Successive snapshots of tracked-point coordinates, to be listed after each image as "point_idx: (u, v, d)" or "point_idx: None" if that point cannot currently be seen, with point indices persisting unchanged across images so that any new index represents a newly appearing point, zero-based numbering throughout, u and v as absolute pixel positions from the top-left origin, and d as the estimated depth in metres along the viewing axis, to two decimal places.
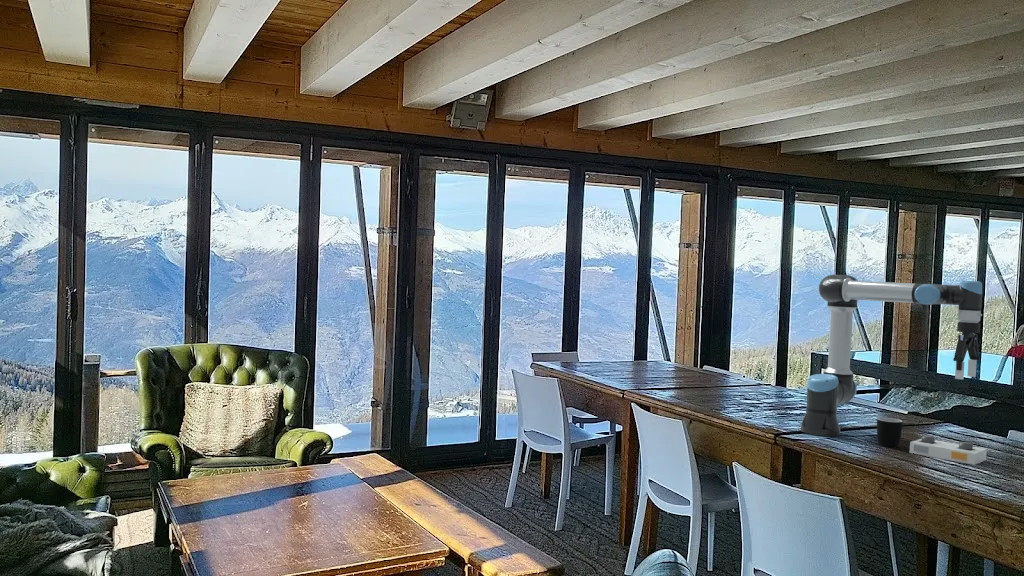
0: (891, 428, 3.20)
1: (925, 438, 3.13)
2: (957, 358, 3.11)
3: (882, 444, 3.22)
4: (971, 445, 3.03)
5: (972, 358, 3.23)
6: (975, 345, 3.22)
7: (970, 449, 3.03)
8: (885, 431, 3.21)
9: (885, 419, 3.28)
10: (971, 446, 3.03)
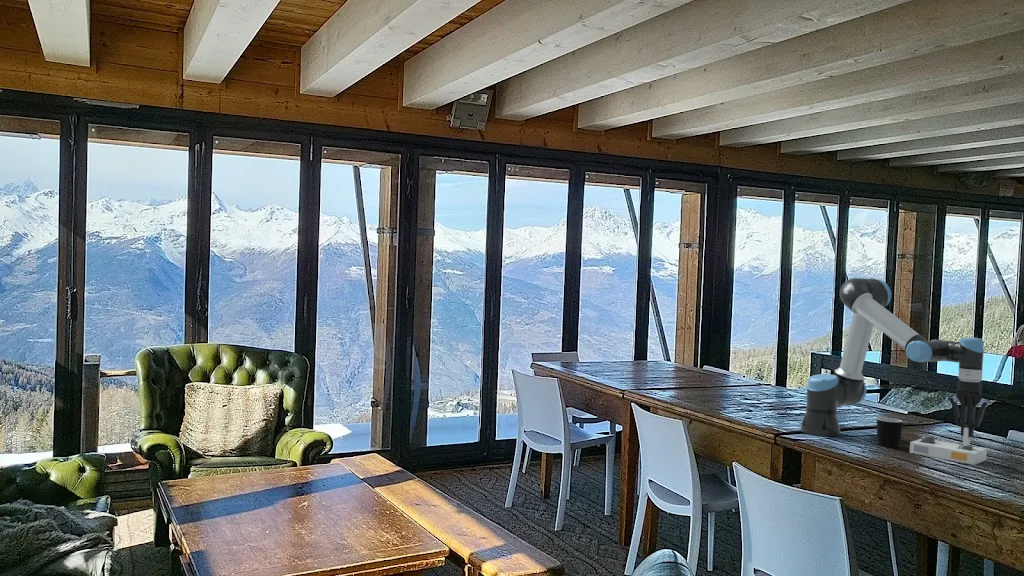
0: (891, 428, 3.20)
1: (925, 438, 3.13)
2: None
3: (882, 444, 3.22)
4: (971, 448, 3.03)
5: None
6: None
7: None
8: (885, 431, 3.21)
9: (885, 419, 3.28)
10: (971, 450, 3.04)
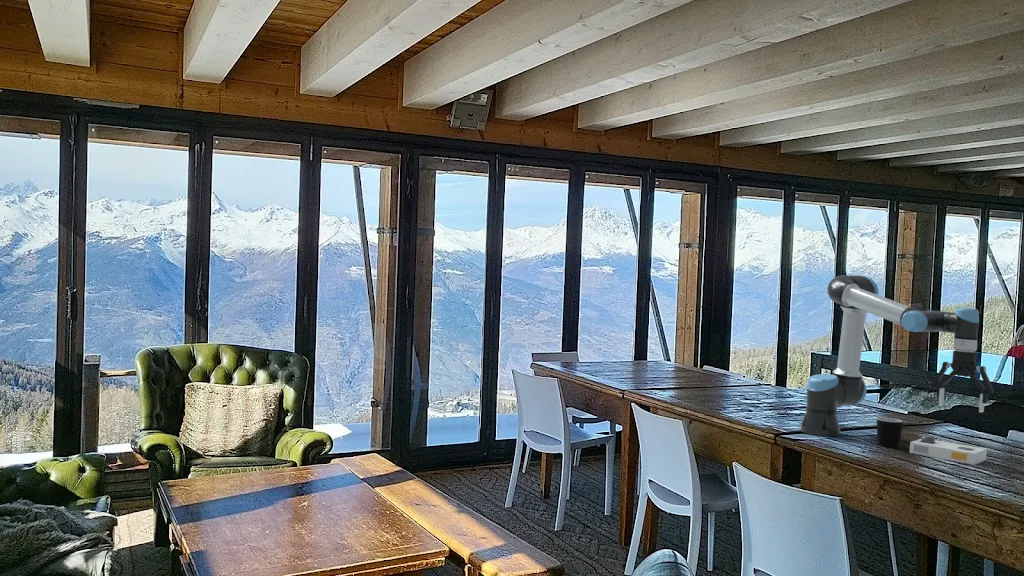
0: (891, 428, 3.20)
1: (925, 438, 3.13)
2: None
3: (882, 444, 3.22)
4: None
5: None
6: (982, 378, 3.01)
7: None
8: (885, 431, 3.21)
9: (885, 419, 3.28)
10: None
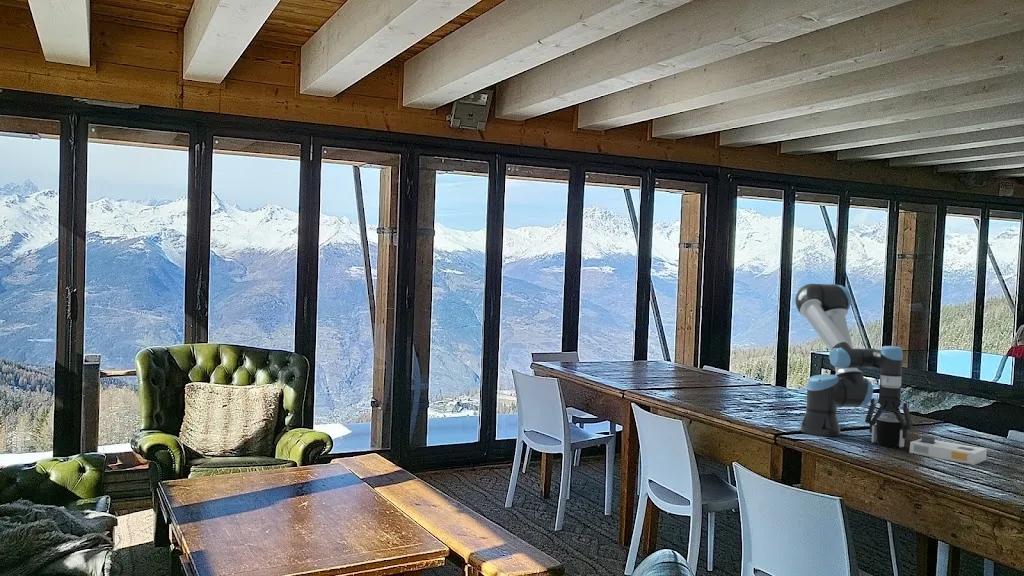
0: (891, 428, 3.20)
1: (925, 438, 3.13)
2: None
3: (881, 444, 3.23)
4: None
5: None
6: None
7: None
8: (885, 431, 3.21)
9: (884, 419, 3.28)
10: None
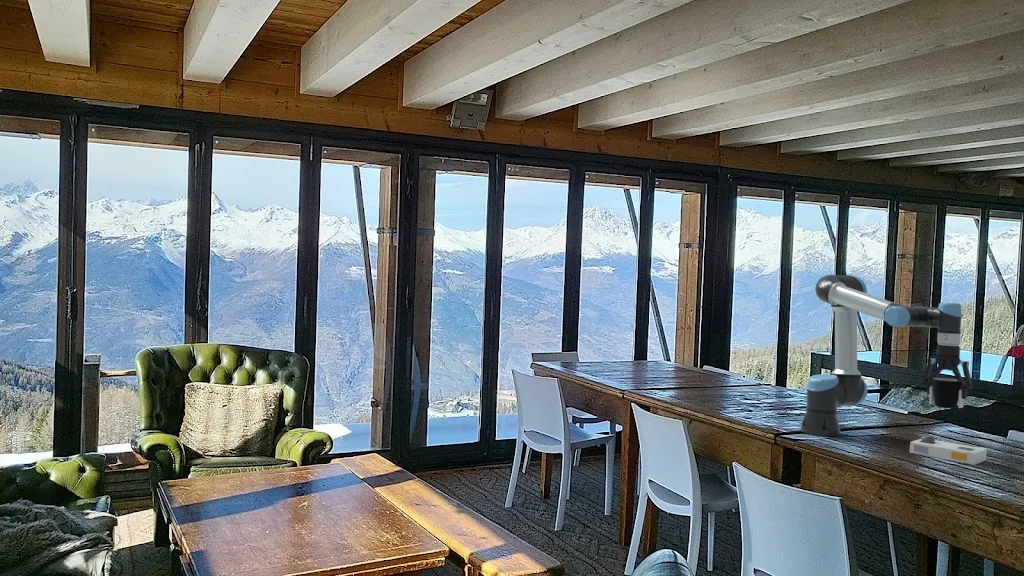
0: (949, 388, 3.05)
1: (925, 438, 3.13)
2: None
3: (939, 405, 3.08)
4: None
5: None
6: (964, 373, 3.05)
7: None
8: (943, 390, 3.06)
9: (941, 379, 3.13)
10: None
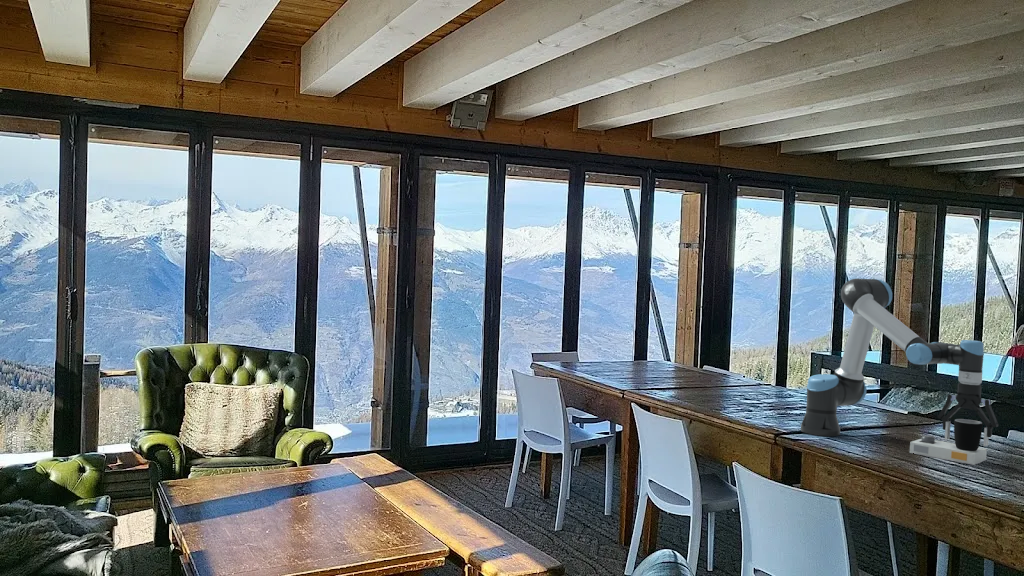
0: (971, 430, 3.00)
1: (925, 438, 3.13)
2: None
3: (960, 447, 3.03)
4: None
5: None
6: None
7: None
8: (964, 433, 3.01)
9: (962, 420, 3.08)
10: None
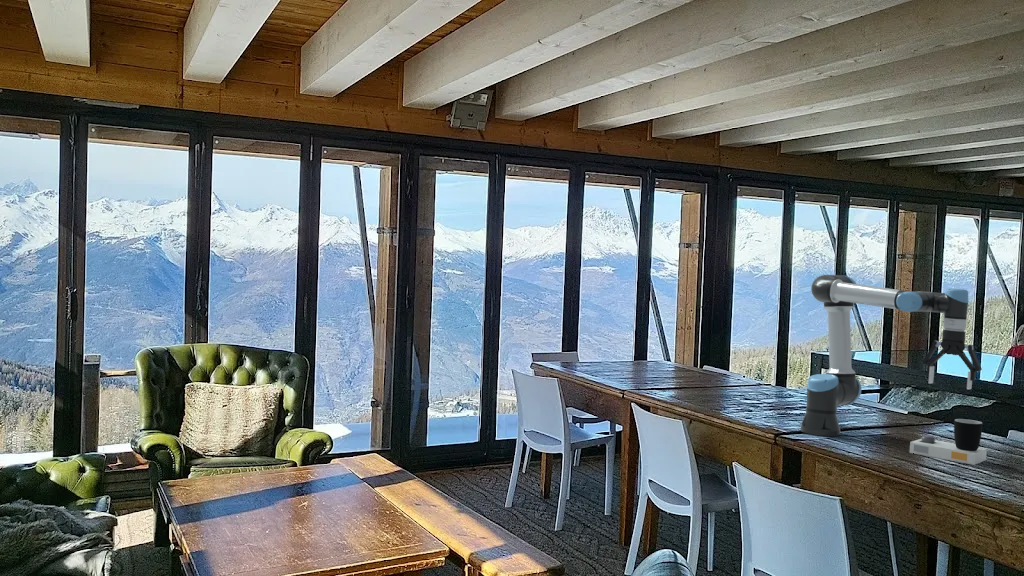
0: (971, 430, 3.00)
1: (925, 438, 3.13)
2: None
3: (960, 447, 3.03)
4: None
5: None
6: (970, 356, 3.11)
7: None
8: (964, 433, 3.01)
9: (962, 420, 3.08)
10: None
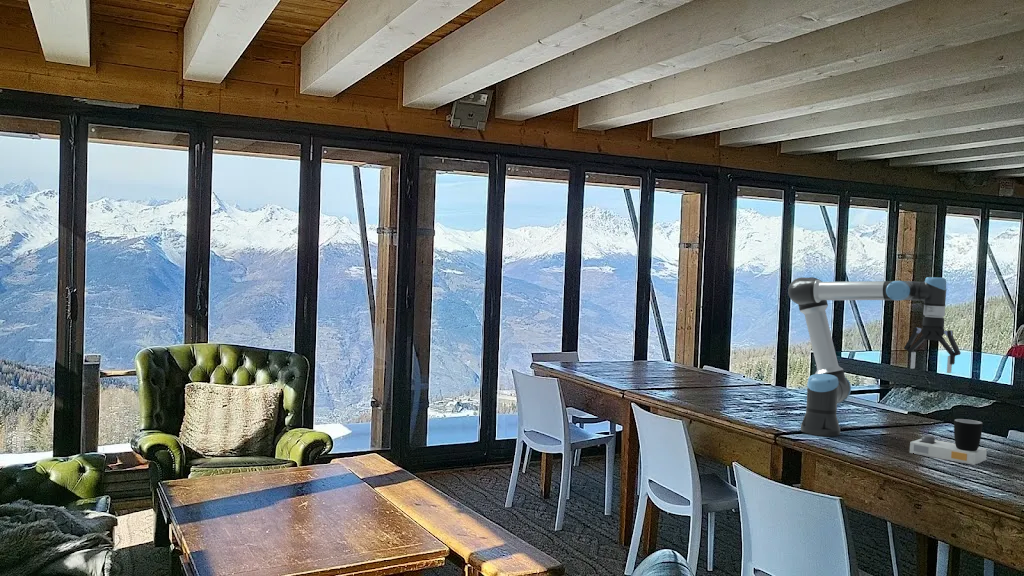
0: (971, 430, 3.00)
1: (925, 438, 3.13)
2: None
3: (960, 447, 3.03)
4: None
5: None
6: (950, 341, 3.26)
7: None
8: (964, 433, 3.01)
9: (962, 420, 3.08)
10: None
